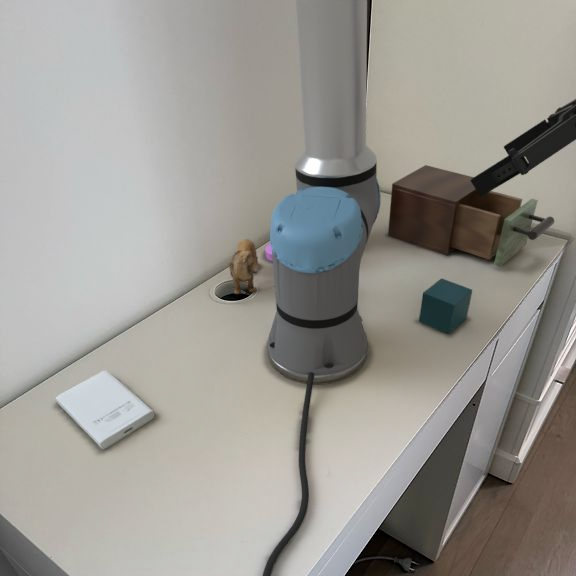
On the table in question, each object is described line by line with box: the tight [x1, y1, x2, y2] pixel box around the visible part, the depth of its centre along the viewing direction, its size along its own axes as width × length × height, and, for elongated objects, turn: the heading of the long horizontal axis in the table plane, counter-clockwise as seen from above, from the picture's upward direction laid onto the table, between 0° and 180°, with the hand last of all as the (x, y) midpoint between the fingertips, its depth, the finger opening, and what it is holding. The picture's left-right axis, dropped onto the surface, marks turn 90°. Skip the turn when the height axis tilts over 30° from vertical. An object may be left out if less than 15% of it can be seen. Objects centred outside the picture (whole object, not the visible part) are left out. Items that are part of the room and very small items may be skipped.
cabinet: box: [387, 164, 477, 256], centre depth 106 cm, size 14×12×11 cm
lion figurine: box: [228, 238, 262, 295], centre depth 96 cm, size 15×5×9 cm, turn 6°
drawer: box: [451, 190, 555, 268], centre depth 99 cm, size 17×10×9 cm, turn 47°
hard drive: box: [55, 369, 156, 450], centre depth 75 cm, size 2×8×12 cm
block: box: [418, 277, 473, 335], centre depth 86 cm, size 6×6×6 cm
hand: (493, 170), depth 79 cm, fingers open, 13 cm apart
